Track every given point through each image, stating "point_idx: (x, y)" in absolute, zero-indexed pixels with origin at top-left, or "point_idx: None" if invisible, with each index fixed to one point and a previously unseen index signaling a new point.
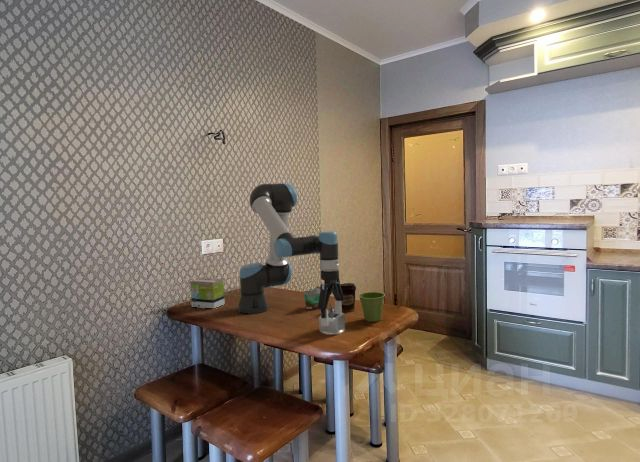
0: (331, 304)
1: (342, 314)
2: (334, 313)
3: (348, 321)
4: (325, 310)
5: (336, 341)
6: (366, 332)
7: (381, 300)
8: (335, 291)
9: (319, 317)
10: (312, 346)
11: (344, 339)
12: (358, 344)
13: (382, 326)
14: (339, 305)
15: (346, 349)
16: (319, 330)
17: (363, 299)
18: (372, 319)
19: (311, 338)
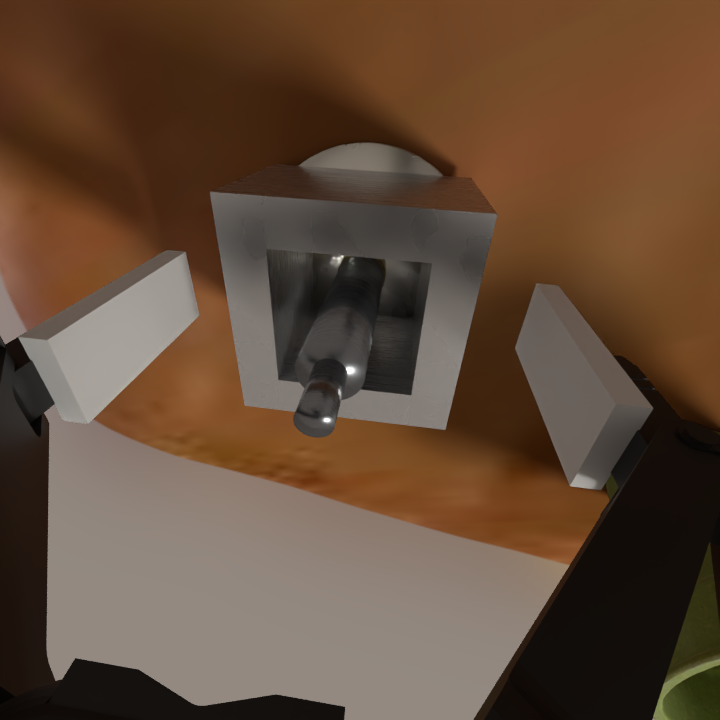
0: (311, 425)
1: (398, 421)
2: (421, 339)
3: (649, 320)
4: (61, 396)
5: (178, 352)
6: (388, 464)
7: (686, 690)
8: (476, 716)
9: (212, 202)
10: (10, 234)
11: (231, 385)
12: (202, 455)
13: (510, 516)
14: (554, 421)
15: (115, 421)
16: (270, 166)
17: (709, 636)
18: (608, 490)
19: (122, 149)
